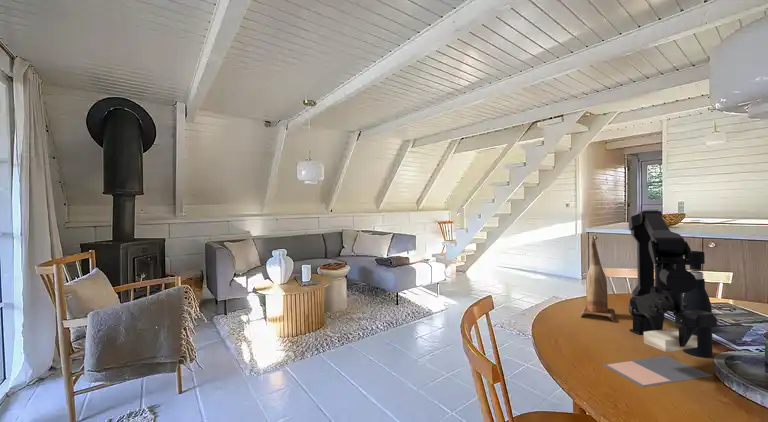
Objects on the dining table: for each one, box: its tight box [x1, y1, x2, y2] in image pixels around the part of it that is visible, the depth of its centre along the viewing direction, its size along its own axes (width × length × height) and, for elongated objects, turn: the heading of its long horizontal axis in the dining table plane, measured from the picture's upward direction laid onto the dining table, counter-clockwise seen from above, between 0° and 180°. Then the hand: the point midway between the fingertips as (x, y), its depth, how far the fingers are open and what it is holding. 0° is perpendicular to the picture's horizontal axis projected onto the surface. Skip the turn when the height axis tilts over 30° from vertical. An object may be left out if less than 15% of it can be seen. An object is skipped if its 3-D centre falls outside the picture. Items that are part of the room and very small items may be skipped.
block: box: [643, 327, 697, 353], centre depth 92 cm, size 10×6×3 cm, turn 101°
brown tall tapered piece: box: [580, 235, 616, 323], centre depth 135 cm, size 11×12×32 cm
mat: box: [602, 355, 713, 388], centre depth 91 cm, size 21×12×1 cm, turn 101°
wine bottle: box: [682, 250, 713, 359], centre depth 99 cm, size 6×6×30 cm
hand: (669, 341), depth 92 cm, fingers closed on block, 6 cm apart
